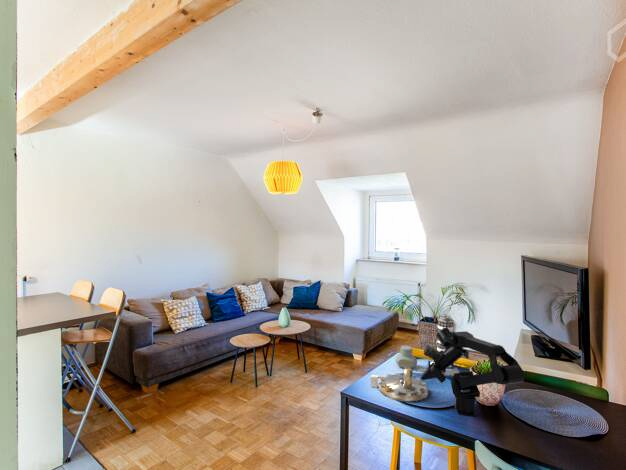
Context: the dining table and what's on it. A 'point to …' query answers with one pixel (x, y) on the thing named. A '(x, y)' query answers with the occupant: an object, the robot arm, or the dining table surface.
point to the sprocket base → (402, 395)
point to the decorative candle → (442, 323)
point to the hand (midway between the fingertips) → (421, 378)
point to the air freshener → (406, 358)
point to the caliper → (448, 372)
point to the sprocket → (403, 383)
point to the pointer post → (374, 380)
